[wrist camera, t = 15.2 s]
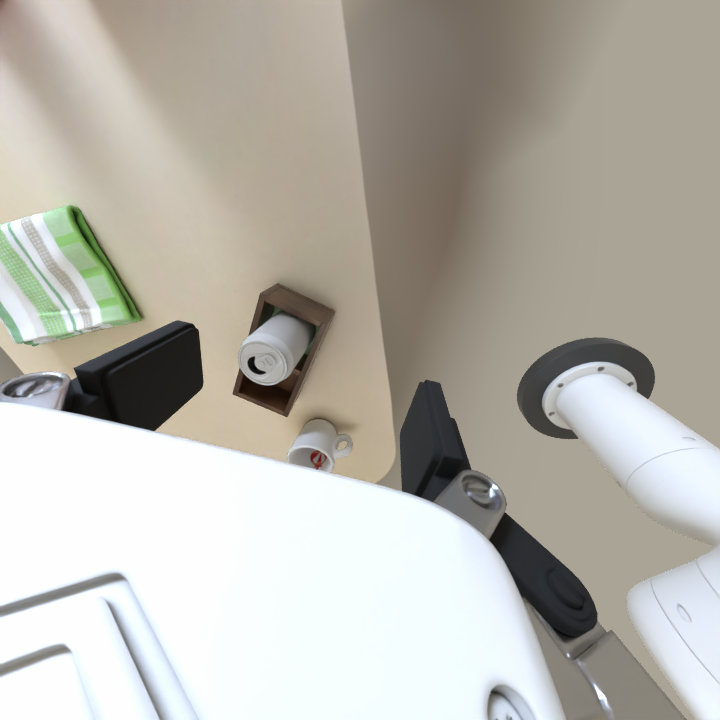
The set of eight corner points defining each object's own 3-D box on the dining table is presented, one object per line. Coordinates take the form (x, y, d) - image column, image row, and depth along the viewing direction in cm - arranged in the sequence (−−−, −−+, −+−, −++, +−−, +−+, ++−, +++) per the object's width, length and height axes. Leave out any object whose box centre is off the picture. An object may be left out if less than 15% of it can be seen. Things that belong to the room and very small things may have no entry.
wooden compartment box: (335, 311, 39) (327, 324, 34) (298, 396, 47) (287, 417, 42) (277, 283, 38) (260, 292, 33) (249, 375, 46) (232, 394, 41)
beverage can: (266, 316, 40) (221, 351, 29) (302, 298, 38) (268, 329, 27) (289, 351, 42) (255, 395, 31) (324, 336, 40) (300, 378, 30)
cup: (350, 409, 47) (343, 442, 40) (360, 442, 51) (355, 477, 44) (295, 415, 49) (279, 448, 42) (307, 446, 53) (295, 481, 46)
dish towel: (-40, 240, 40) (-77, 242, 37) (75, 200, 36) (45, 199, 33) (43, 342, 48) (19, 351, 44) (147, 320, 43) (129, 327, 40)
